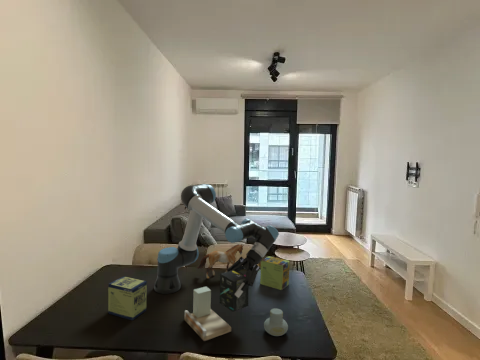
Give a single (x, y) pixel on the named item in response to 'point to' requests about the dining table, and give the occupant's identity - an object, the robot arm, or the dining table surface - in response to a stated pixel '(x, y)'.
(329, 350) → the dining table surface
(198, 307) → the sage carton
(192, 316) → the pale wooden board
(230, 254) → the horse figurine
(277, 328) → the air freshener
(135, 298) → the protein box
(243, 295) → the tampon box
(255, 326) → the dining table surface
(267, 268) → the protein box
